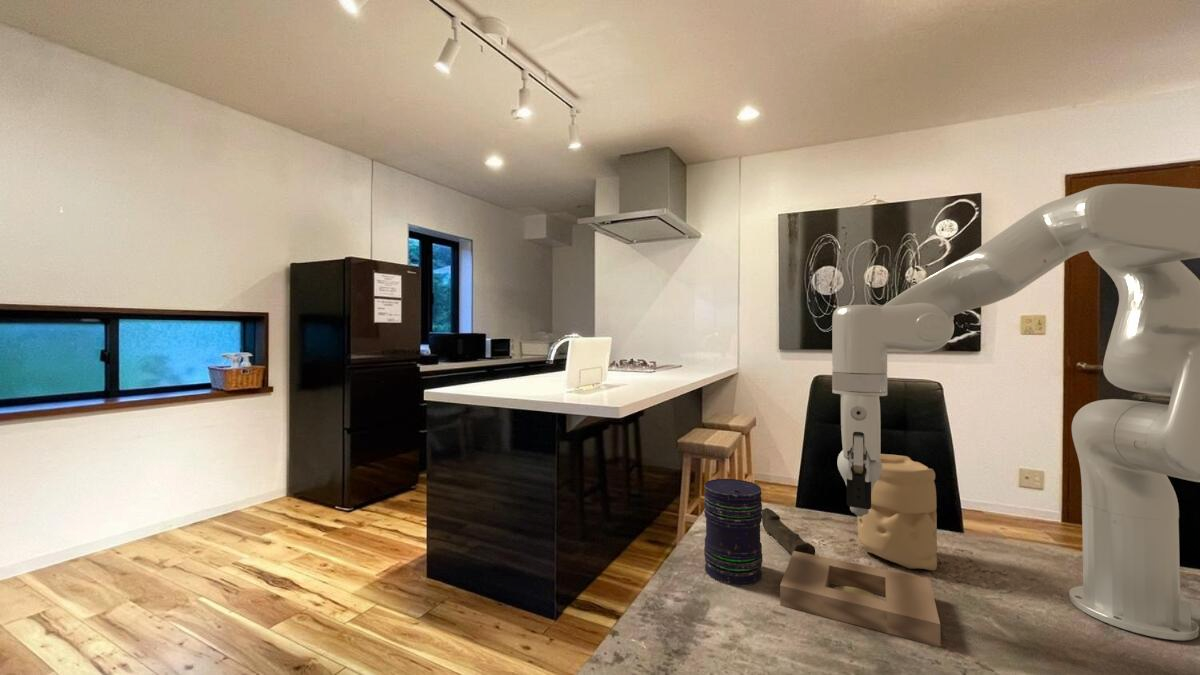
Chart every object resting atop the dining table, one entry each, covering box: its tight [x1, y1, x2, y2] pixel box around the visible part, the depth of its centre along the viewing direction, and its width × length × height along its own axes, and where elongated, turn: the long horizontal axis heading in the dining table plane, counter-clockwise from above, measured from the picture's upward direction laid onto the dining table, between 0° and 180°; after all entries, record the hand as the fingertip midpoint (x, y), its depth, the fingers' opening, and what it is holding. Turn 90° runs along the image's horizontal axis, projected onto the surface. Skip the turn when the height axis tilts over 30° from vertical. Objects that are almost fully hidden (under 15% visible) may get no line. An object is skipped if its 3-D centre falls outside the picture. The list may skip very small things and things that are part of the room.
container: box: [857, 453, 938, 572], centre depth 88 cm, size 13×13×18 cm
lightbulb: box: [836, 449, 882, 517], centre depth 73 cm, size 6×6×11 cm
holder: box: [779, 551, 942, 648], centre depth 73 cm, size 20×14×3 cm
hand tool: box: [761, 507, 816, 556], centre depth 95 cm, size 19×4×5 cm, turn 1°
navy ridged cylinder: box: [703, 478, 763, 587], centre depth 83 cm, size 10×10×15 cm
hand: (859, 500), depth 73 cm, fingers closed on lightbulb, 5 cm apart
